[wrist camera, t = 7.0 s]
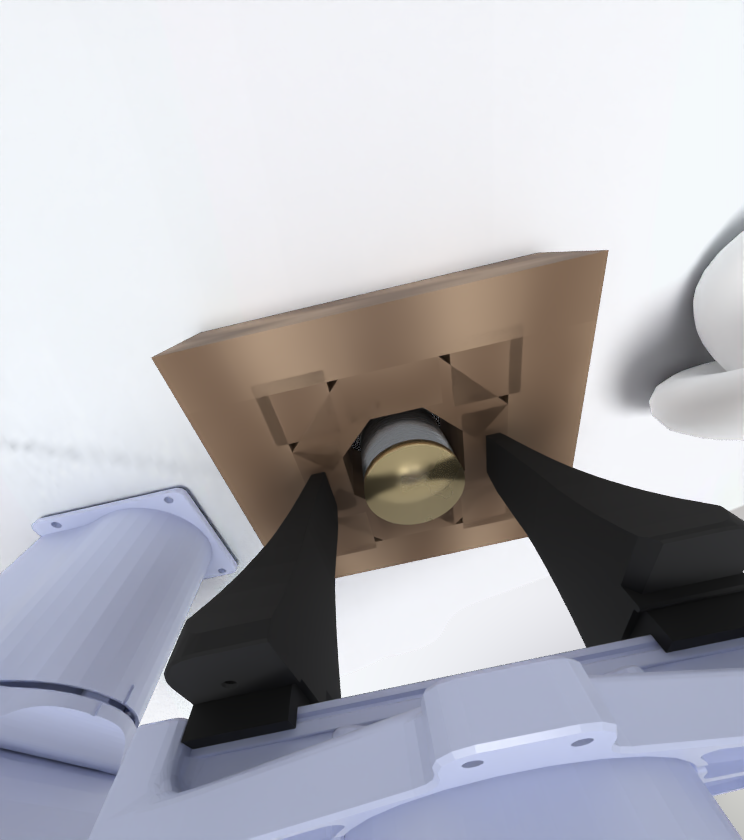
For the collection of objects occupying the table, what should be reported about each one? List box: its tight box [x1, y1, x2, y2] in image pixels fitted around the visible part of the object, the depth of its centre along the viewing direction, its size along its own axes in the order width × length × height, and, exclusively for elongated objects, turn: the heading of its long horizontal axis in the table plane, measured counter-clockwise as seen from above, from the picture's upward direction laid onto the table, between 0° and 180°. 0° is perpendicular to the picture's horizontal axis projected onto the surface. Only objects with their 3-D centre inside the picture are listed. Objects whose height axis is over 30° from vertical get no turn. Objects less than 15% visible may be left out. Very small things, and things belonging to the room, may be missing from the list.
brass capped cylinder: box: [359, 407, 465, 525], centre depth 14 cm, size 4×4×6 cm
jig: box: [152, 250, 608, 578], centre depth 15 cm, size 16×14×4 cm
